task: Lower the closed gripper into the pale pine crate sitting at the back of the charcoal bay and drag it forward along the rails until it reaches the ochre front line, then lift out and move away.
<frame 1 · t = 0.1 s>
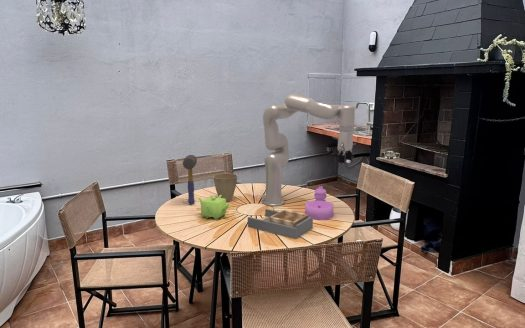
hand: (345, 161, 200), 31 cm above the table, tool pointing down, fingers open, 9 cm apart
rubber mallet: (191, 204, 229), on the table
green lumpy block: (213, 216, 207), on the table
plant pot: (225, 200, 237), on the table
container set: (319, 213, 214), on the table
crate: (288, 221, 187), point 4 cm above the table, slide at 0.0 cm
bay: (280, 227, 191), on the table
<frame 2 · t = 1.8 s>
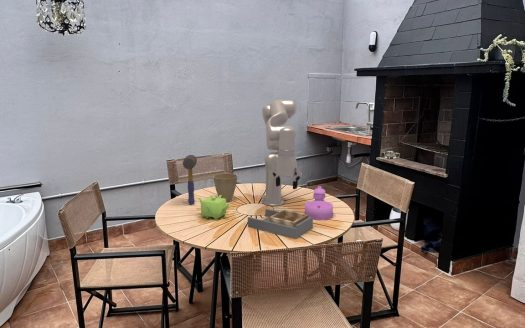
hand: (286, 187, 186), 21 cm above the table, tool pointing down, fingers open, 9 cm apart
nothing on the table moved.
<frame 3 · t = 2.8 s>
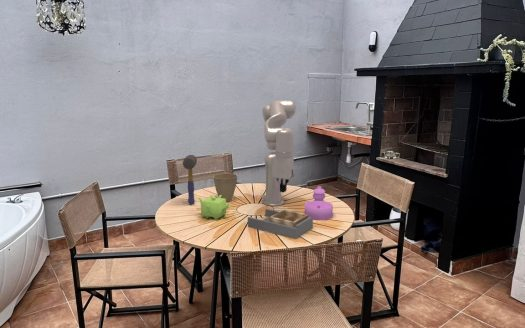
hand: (283, 191, 186), 19 cm above the table, tool pointing down, fingers closed
nothing on the table moved.
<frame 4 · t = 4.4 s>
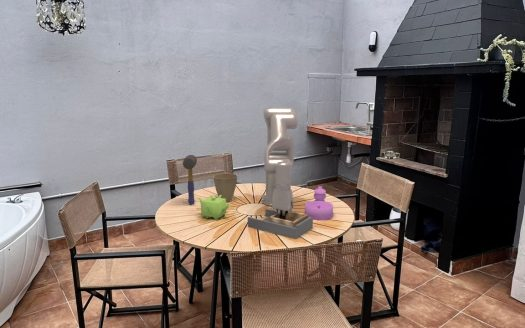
hand: (282, 222, 189), 3 cm above the table, tool pointing down, fingers closed
crate: (288, 221, 187), point 4 cm above the table, slide at 0.1 cm, touching gripper
everything else where it was.
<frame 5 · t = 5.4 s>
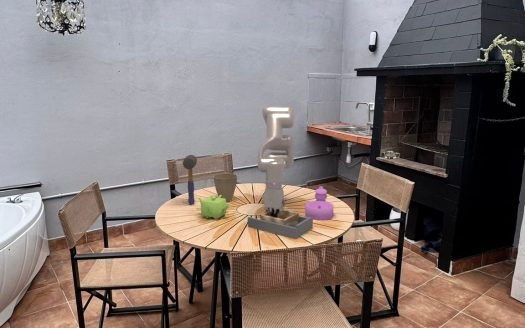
hand: (274, 220, 192), 3 cm above the table, tool pointing down, fingers closed
crate: (279, 219, 190), point 4 cm above the table, slide at 5.2 cm, touching gripper
everything else where it was.
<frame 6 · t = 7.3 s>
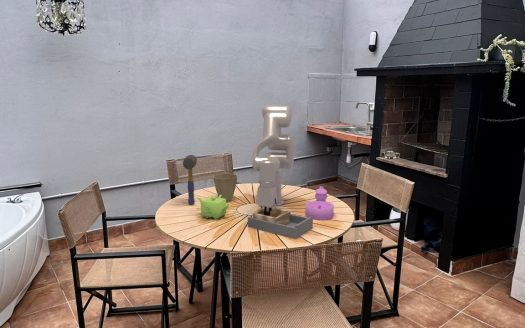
hand: (266, 218, 194), 3 cm above the table, tool pointing down, fingers closed
crate: (271, 217, 193), point 4 cm above the table, slide at 10.0 cm
everything else where it was.
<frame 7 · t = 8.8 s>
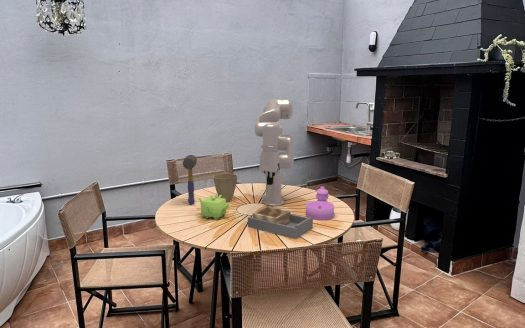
hand: (270, 184, 191), 21 cm above the table, tool pointing down, fingers closed
nothing on the table moved.
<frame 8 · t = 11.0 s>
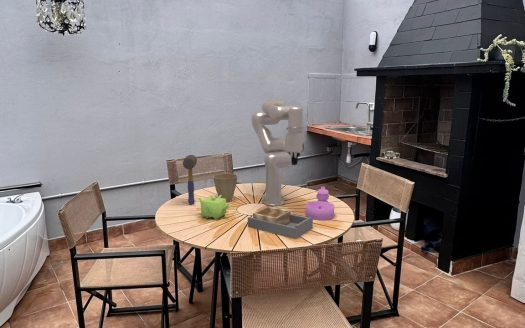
hand: (294, 164, 202), 29 cm above the table, tool pointing down, fingers closed
at the end: crate slide at 10.0 cm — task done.
